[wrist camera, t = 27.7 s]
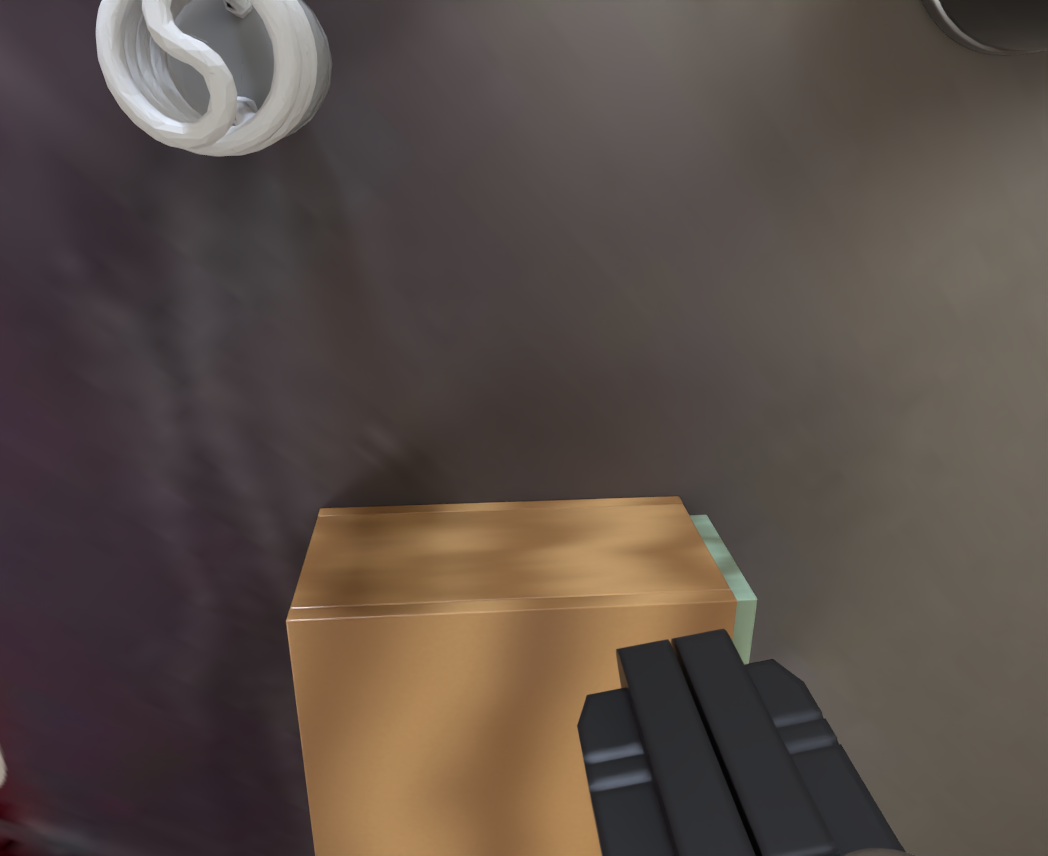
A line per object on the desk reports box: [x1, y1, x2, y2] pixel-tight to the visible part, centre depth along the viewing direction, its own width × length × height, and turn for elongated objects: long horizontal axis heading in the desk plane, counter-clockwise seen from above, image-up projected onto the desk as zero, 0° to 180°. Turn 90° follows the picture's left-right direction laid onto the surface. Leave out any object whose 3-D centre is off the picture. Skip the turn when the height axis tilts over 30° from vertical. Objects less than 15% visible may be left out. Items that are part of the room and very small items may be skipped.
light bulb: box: [96, 0, 332, 156], centre depth 27 cm, size 6×6×12 cm
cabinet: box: [286, 496, 737, 856], centre depth 39 cm, size 18×15×9 cm
